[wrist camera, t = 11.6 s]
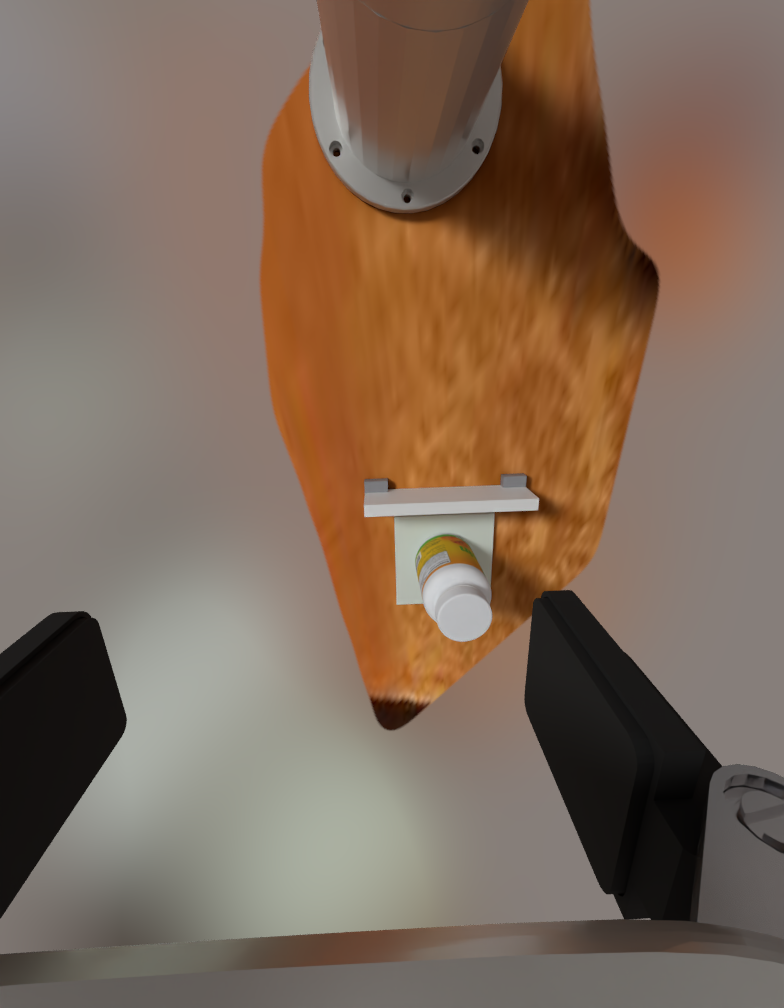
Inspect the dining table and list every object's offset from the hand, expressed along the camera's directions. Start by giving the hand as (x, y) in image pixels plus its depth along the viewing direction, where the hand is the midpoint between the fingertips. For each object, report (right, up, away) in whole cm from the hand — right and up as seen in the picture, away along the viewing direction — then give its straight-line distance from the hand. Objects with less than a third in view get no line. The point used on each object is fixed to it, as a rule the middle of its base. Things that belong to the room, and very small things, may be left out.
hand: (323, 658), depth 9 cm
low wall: (+6, +4, +29) cm, 30 cm away
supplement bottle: (+6, -2, +30) cm, 31 cm away
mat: (+6, -2, +31) cm, 32 cm away
